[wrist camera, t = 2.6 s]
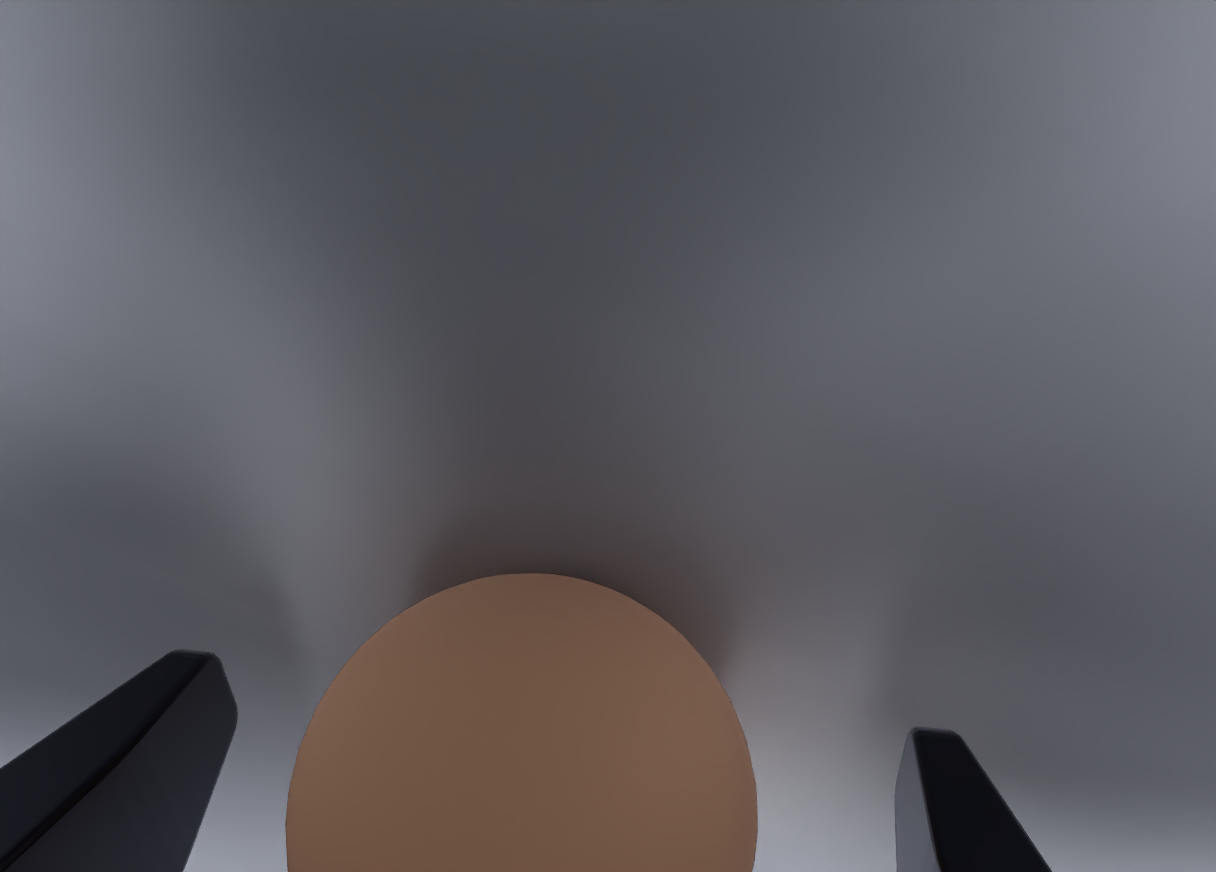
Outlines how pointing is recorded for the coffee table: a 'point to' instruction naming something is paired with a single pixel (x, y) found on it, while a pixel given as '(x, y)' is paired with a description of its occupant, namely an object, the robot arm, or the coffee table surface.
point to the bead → (524, 743)
